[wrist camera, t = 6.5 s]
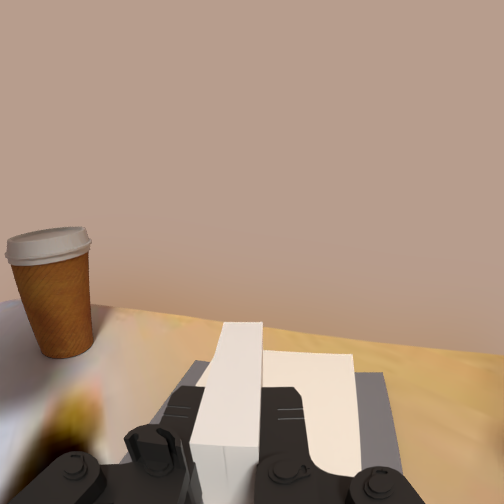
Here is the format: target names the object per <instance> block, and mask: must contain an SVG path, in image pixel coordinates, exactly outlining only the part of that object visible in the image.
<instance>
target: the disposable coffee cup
mask: <svg viewBox="0 0 504 504" xmlns="http://www.w3.org/2000/svg"><path fill="white" fill-rule="evenodd" d="M91 243H92V240H91V239H89V238H88V234H87V231H86V228H85V227H62V228H53V229H46V230H40V231H35V232H30V233H26V234H21V235H18V236H15V237H12V238H10V239H8V240H7V252H6V253H5V257H6V258H7V259H8V263H9V264H11V267H12V271H13V274H14V278H15V281H16V285H17V287H18V291H19V293H20V296H21V299H22V303H23V305H24V308H25V311H26V314H27V316H28V320H29V322H30V325H31V327H32V330H33V332H34V335H35V337H36V340H37V342H38V344H39V347H40V349H41V352H42V353H43V354H44V355H45V356H47V357H51V358H68V357H73V356H76V355H79V354H81V353H83V352H85V351H86V350H88V349H89V348H90V347H91V345H92V344H93V334H92V322H91V307H90V292H89V262H88V251H89V250H90V244H91Z"/></svg>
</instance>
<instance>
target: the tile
mask: <svg viewBox="0 0 504 504" xmlns="http://www.w3.org/2000/svg"><path fill="white" fill-rule="evenodd" d="M213 359H214V357H213ZM213 359H212V361H211V362H210V364H209V365H208V367H207V368H206V370H205V371H204V373H203V375H202V376H201V378H200V379H199V381H198V382H197V384H196V385H195V386H199V387H205V386H206V383H207V379H208V376H209V372H210V369H211V366H212V362H213ZM263 387H294V388H295V389H296V390H297V391H298V393H299V394H300V395H301V396H302V403H303V410H304V419H305V424H306V432H307V439H308V447H309V454H310V457H311V460H312V461H313V462H314V464H315V465H316V466H317V467H319V468H320V469H321V470H324V471H326V472H328V473H331V474H336V475H342V476H350V477H354V476H355V475H356V474H357V473H358V472H360V471H361V449H360V432H359V418H358V406H357V394H356V384H355V374H354V365H353V356H352V354H323V353H301V352H284V351H269V350H263Z"/></svg>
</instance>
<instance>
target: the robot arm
mask: <svg viewBox="0 0 504 504" xmlns="http://www.w3.org/2000/svg"><path fill="white" fill-rule="evenodd" d="M163 414H164V415H163V416H162V418H161V421H160V423H159V424H147V425H143V426H139V427H136V428H135V429H133V430H131V431H129V432H128V434H127V435H126V436H125V437H124V441H125V444H126V446H127V449H128V452H129V454H130V457H131V459H132V462H130V463H125V464H109V465H99V463H98V461H97V459H96V458H94V457H93V456H92V455H90V454H88V453H84V452H69V453H66V454H63V455H62V456H60V457H58V458H57V459H56V460H55V461H54V462H52V463H51V464H50V465H49V466H48V467H47V468H46V469H45V470H44V471H43V472H42V473H41V474H39V475H38V476H37V477H36V478H35V479H34V480H33V481H32V482H31V483H30V484H28V485H27V486H26V487H25V488H24V489H23V490H22V491H21V492H20V493H19V494H17V495H16V496H15V497H14V498H13V499H12V500H11V501H10V502H9V503H7V504H200V503H201V498H202V499H203V503H204V504H425V502H424V501H423V500H422V499H421V497H420V496H419V495H418V493H417V492H416V491H415V490H414V488H413V487H412V486H411V484H410V483H409V482H408V480H407V479H406V478H405V477H404V476H403V475H402V474H401V473H400V472H399V471H397V470H395V469H392V468H390V467H384V466H374V467H369V468H366V469H364V470H362V471H360V472H358V473H357V474H356V475H355V476H354V477H350V476H342V475H336V474H331V473H328V472H326V471H324V470H321V469H320V468H319V467H317V466H316V465H315V464H314V462H313V461H312V460H311V457H310V454H309V447H308V439H307V432H306V424H305V419H304V410H303V403H302V396H301V395H300V394H299V393H298V391H297V390H296V389H295V388H294V387H263V322H224V324H223V327H222V331H221V334H220V338H219V341H218V345H217V348H216V352H215V355H214V359H213V362H212V366H211V369H210V372H209V376H208V379H207V383H206V386H205V387H199V386H184V385H182V386H180V387H179V388H178V389H177V390H176V391H175V392H174V393H172V394H171V397H170V399H169V402H168V404H167V407H166V409H165V411H164V413H163Z"/></svg>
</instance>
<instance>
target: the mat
mask: <svg viewBox="0 0 504 504" xmlns="http://www.w3.org/2000/svg"><path fill="white" fill-rule="evenodd" d="M209 364H210V362H205V361H198V360H195V362H194V363H193V364H192V366H191V367H190V369H189V370H188V371H187V373H186V374H185V375H184V377H183V378H182V379H181V381H180V382H179V384H178V385H177V386H176V388H175V389H174V390H173V392H172V393H174V392H175V391H176V390H177V389H178V388H179V387H180V386H182V385H184V386H195V385H196V384H197V382H198V381H199V379H200V378H201V376H202V375H203V373H204V371H205V370H206V368H207V367H208V365H209ZM354 374H355V384H356V394H357V406H358V418H359V432H360V449H361V471H362V470H364V469H366V468H369V467H374V466H384V467H390V468H392V469H395V470H397V471H399V472H400V473H401V474H402V475H403V472H402V465H401V459H400V454H399V448H398V442H397V437H396V432H395V427H394V422H393V417H392V412H391V407H390V402H389V398H388V393H387V389H386V385H385V380H384V376H383V372H382V373H357V372H354ZM172 393H171V394H172ZM170 397H171V395H170V396H169V397H168V399H167V400H166V401H165V403H164V404H163V405H162V407H161V408H160V409H159V411H158V412H157V414H156V415H155V416H154V418H153V419H152V420H151V422H150V423H149V424H159V423H160V421H161V418H162V416H163V415H164V414H163V413H164V411H165V409H166V407H167V404H168V402H169V399H170ZM130 462H132V459H131V457H130V454H129V452H127V454H126V455H125V456H124V458H123V459H122V460H121V462H120V463H119V464H125V463H130ZM200 504H204V503H203V499H202V498H201V503H200Z"/></svg>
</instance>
